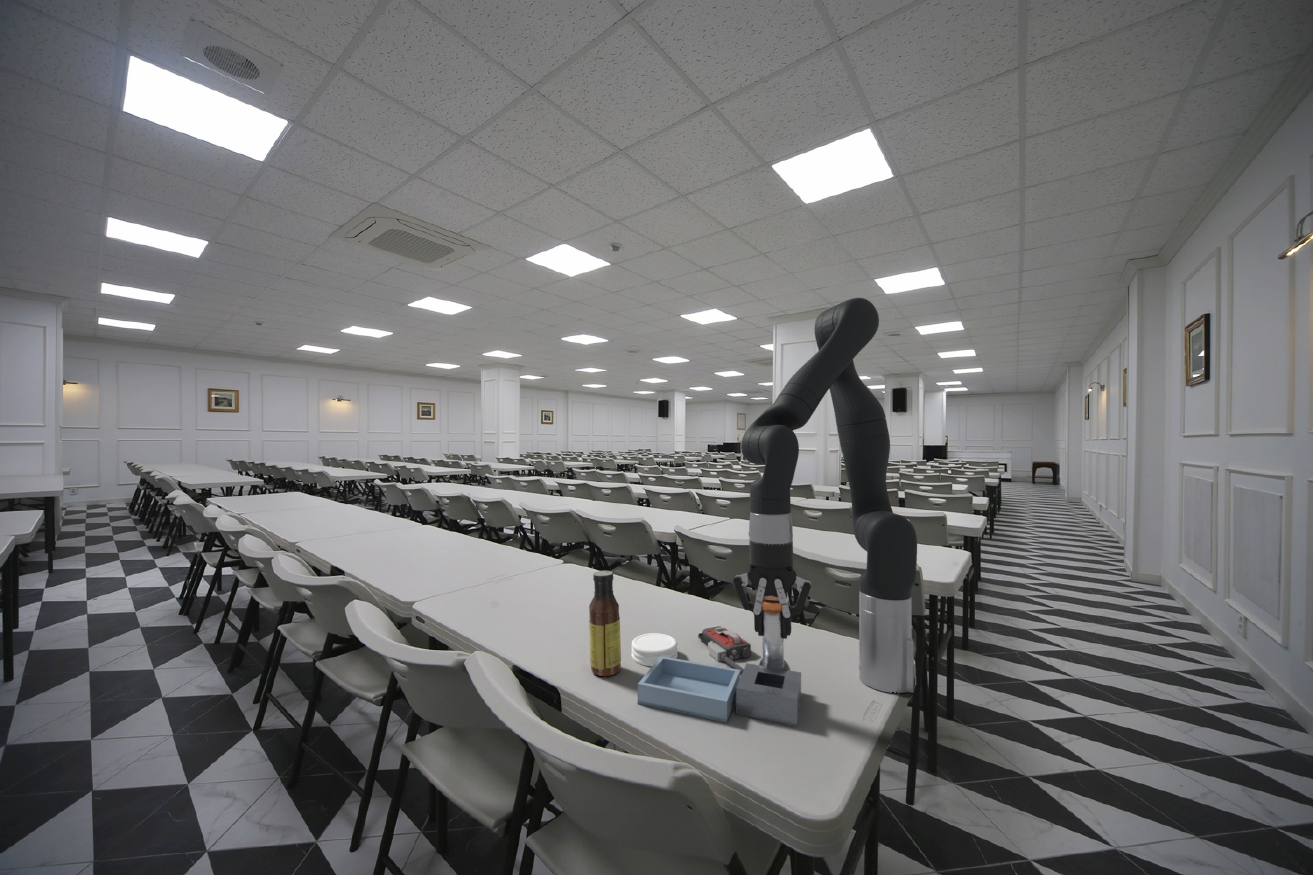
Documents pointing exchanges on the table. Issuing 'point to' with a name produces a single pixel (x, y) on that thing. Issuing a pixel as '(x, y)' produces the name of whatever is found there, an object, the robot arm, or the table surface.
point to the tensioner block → (769, 694)
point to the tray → (690, 688)
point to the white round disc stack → (653, 648)
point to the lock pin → (772, 633)
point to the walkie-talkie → (725, 645)
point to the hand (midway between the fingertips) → (772, 635)
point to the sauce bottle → (604, 627)
